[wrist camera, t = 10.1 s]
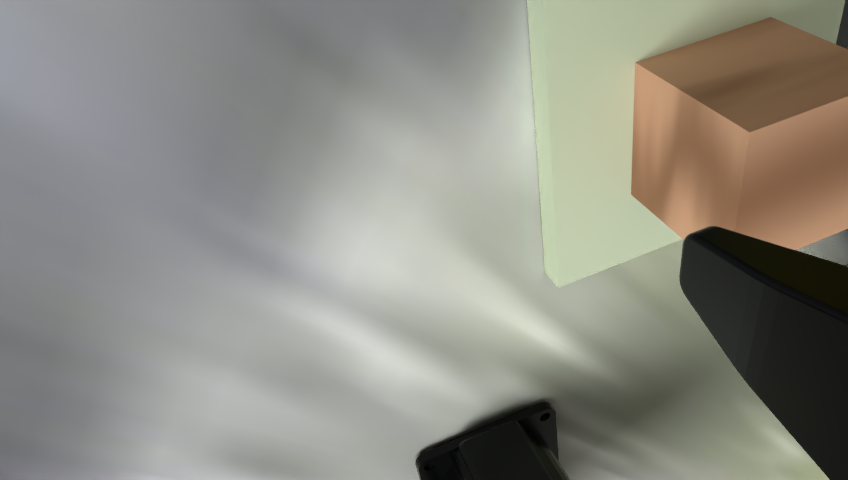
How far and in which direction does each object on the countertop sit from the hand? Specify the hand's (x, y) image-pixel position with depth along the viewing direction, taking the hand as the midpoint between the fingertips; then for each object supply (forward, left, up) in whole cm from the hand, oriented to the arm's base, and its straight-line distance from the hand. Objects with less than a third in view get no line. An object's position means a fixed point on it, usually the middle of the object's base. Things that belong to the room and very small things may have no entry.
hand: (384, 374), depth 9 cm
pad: (-6, -14, -12) cm, 19 cm away
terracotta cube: (-6, -14, -11) cm, 19 cm away
